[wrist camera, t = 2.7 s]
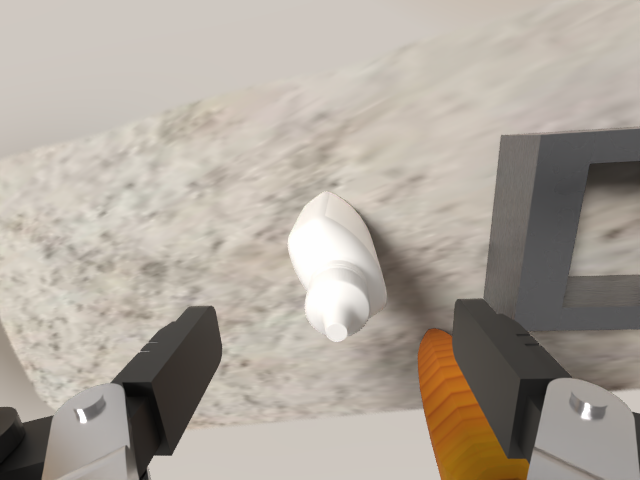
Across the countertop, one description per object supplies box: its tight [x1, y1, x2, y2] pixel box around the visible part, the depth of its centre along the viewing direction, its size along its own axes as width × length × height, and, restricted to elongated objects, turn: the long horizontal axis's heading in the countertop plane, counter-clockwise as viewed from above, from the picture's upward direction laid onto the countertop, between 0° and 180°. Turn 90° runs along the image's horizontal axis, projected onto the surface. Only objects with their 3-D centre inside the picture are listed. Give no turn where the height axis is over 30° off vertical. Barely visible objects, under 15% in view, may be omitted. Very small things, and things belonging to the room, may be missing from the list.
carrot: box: [418, 328, 530, 480], centre depth 16 cm, size 5×5×15 cm
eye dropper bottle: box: [288, 191, 387, 342], centre depth 16 cm, size 4×6×12 cm
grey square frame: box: [484, 127, 640, 331], centre depth 18 cm, size 13×11×4 cm
